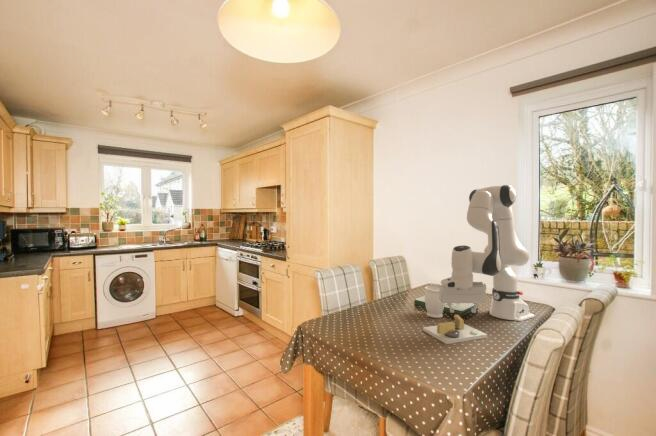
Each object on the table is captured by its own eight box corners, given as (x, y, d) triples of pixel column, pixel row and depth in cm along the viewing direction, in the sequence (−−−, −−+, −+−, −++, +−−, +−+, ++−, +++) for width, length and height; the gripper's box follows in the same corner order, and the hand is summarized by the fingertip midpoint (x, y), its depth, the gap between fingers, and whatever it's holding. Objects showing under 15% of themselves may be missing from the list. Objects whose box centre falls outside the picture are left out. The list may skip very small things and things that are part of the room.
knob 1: (452, 331, 138) (452, 319, 137) (462, 336, 132) (462, 324, 132) (433, 334, 134) (433, 321, 134) (443, 339, 129) (443, 326, 129)
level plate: (460, 325, 150) (460, 320, 150) (487, 337, 135) (487, 332, 135) (423, 330, 143) (423, 325, 143) (446, 344, 128) (446, 339, 128)
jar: (446, 319, 158) (446, 290, 158) (425, 318, 160) (426, 289, 160) (443, 313, 169) (443, 286, 168) (423, 311, 171) (423, 285, 170)
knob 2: (448, 324, 147) (448, 313, 146) (461, 324, 146) (461, 313, 146) (454, 332, 137) (454, 320, 136) (468, 333, 136) (468, 320, 136)
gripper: (483, 280, 140) (483, 310, 140) (437, 280, 141) (438, 310, 141) (489, 283, 133) (489, 314, 134) (441, 283, 135) (442, 314, 135)
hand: (462, 312), depth 138 cm, fingers open, 8 cm apart
